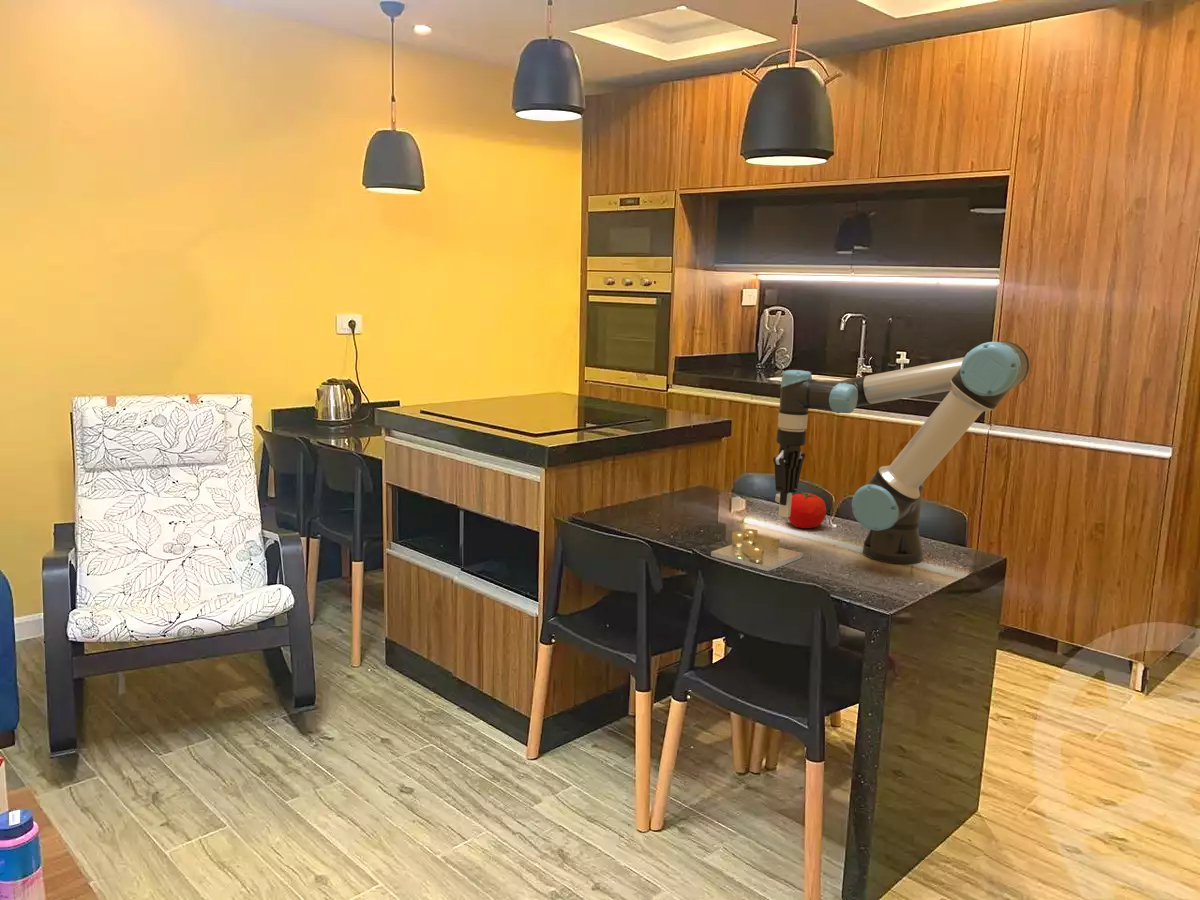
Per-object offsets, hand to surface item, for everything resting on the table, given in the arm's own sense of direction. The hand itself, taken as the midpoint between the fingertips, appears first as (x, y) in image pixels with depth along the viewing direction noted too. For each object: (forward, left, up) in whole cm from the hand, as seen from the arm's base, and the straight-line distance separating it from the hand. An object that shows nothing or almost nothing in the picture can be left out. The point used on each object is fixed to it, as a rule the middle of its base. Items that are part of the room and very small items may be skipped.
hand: (784, 516), depth 239 cm
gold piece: (-1, +18, -7) cm, 19 cm away
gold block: (+3, +6, -7) cm, 10 cm away
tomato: (+7, -25, -9) cm, 28 cm away
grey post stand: (+23, -46, -9) cm, 52 cm away
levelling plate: (0, +12, -9) cm, 15 cm away
